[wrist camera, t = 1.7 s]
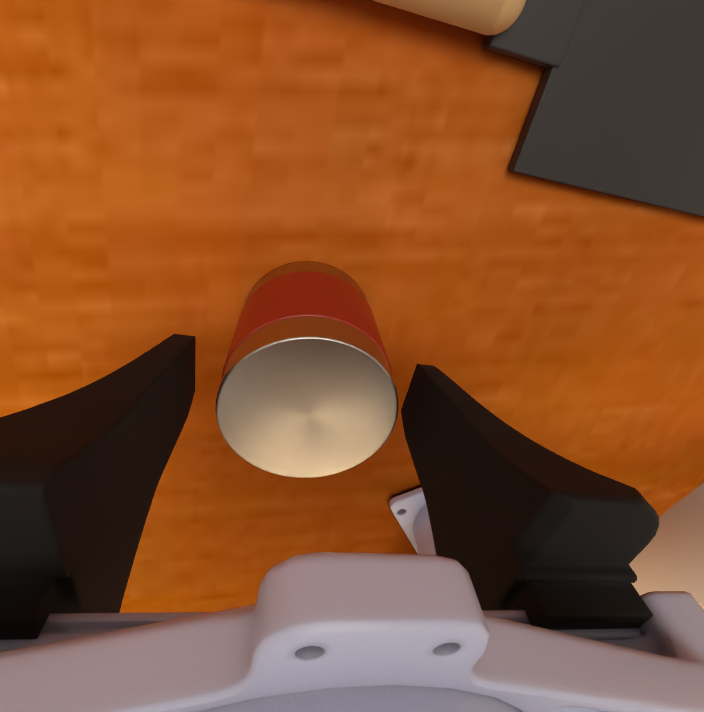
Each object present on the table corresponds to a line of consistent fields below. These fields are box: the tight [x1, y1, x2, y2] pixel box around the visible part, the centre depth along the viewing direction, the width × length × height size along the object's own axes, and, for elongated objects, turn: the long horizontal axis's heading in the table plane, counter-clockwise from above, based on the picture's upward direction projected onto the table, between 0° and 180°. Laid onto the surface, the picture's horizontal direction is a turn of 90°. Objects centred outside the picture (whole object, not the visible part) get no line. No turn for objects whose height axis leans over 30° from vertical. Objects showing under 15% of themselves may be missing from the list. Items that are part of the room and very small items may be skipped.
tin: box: [216, 262, 398, 478], centre depth 14 cm, size 5×5×6 cm
